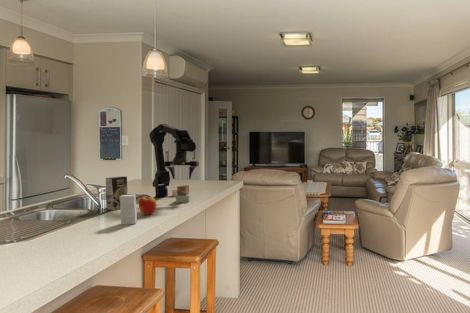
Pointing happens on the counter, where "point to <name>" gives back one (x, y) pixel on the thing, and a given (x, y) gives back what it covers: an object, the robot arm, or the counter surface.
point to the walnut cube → (182, 190)
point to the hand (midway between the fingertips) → (181, 179)
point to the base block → (183, 198)
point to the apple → (147, 205)
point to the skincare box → (128, 209)
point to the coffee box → (115, 191)
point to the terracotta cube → (174, 192)
